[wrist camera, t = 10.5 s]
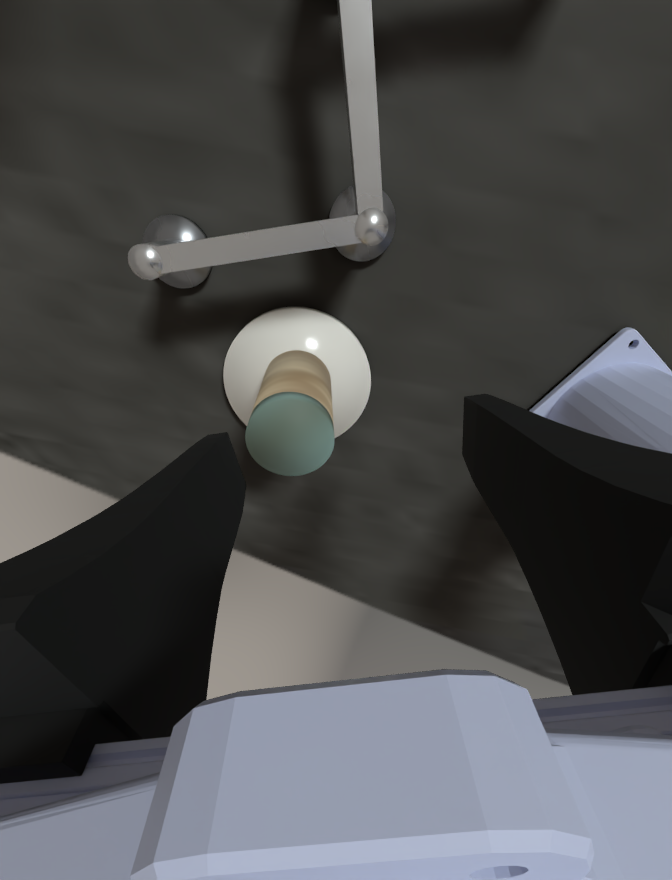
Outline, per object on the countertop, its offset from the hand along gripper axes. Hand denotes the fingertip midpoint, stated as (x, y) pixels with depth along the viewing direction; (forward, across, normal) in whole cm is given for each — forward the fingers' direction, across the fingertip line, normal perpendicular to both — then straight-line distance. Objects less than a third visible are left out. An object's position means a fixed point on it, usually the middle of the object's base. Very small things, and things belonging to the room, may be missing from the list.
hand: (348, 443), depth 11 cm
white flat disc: (+10, +2, +2) cm, 10 cm away
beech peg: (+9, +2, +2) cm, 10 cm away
